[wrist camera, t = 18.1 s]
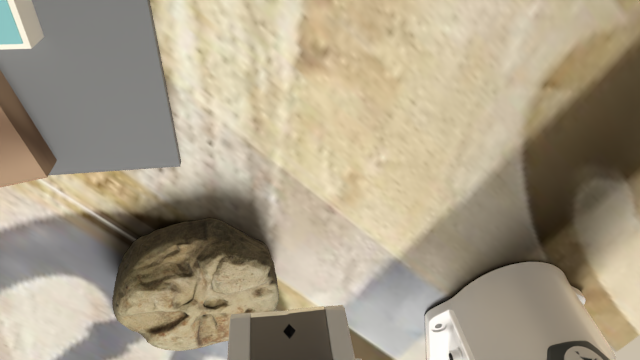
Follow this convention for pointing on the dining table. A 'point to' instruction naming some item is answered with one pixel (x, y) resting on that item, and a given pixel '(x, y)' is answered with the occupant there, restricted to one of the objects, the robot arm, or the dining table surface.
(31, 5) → the box
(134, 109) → the mat
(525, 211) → the dining table surface
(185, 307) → the stone
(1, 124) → the walnut block
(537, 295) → the robot arm
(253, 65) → the dining table surface
